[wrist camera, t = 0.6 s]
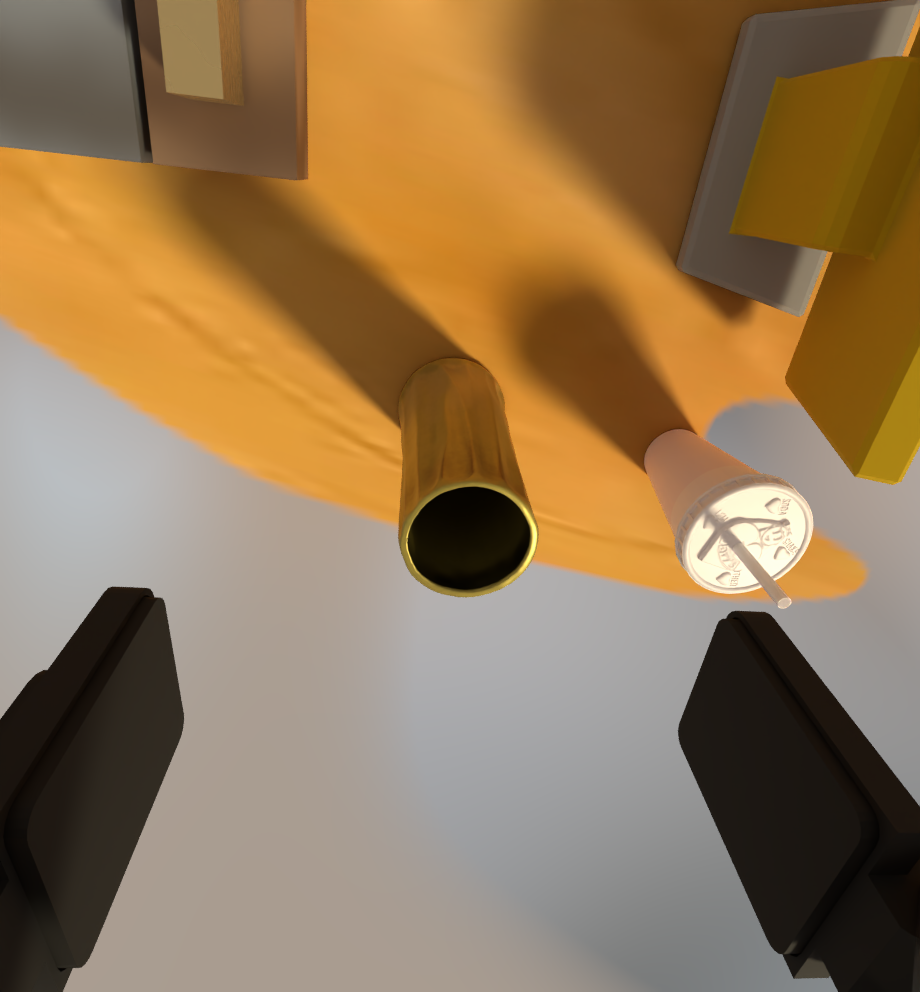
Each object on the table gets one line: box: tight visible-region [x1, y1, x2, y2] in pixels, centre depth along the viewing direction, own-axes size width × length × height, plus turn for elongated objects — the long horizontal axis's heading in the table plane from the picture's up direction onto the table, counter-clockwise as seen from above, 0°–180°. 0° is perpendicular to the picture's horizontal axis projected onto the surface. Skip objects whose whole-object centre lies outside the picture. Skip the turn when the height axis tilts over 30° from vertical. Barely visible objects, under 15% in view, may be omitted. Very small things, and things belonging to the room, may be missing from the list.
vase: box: [398, 358, 539, 597], centre depth 29 cm, size 6×6×14 cm
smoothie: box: [644, 429, 813, 608], centre depth 31 cm, size 6×6×14 cm
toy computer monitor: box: [676, 0, 920, 485], centre depth 23 cm, size 20×8×16 cm, turn 173°
